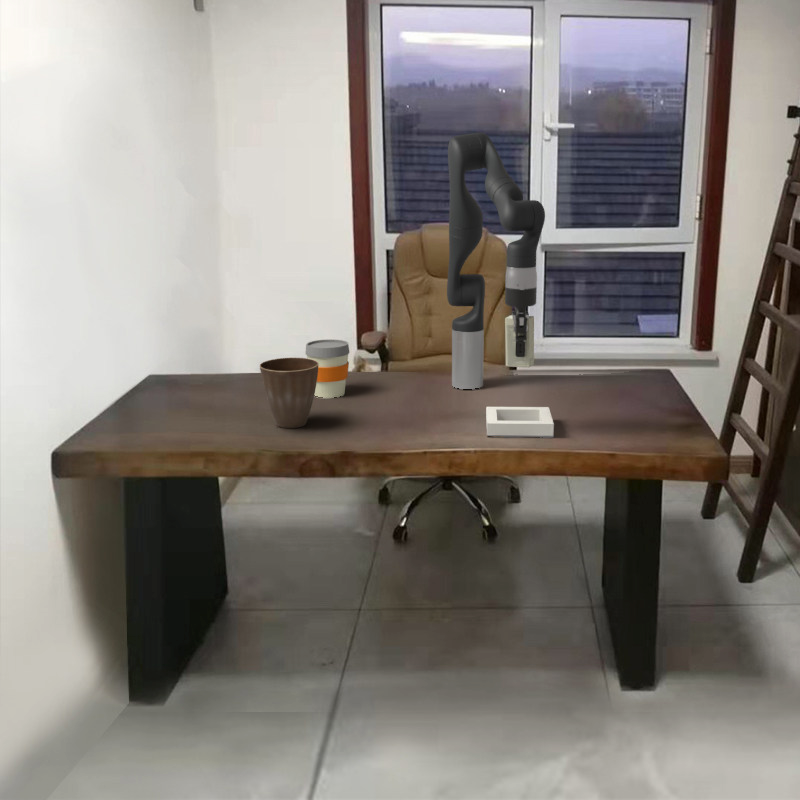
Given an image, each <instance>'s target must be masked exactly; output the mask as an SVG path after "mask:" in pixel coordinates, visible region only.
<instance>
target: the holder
mask: <svg viewBox="0 0 800 800" xmlns="http://www.w3.org/2000/svg"><path fill="white" fill-rule="evenodd" d="M485 415H486V416H485V418H486V419H485V426H486V437H487V436H504V437H503V438H521V437H540V438H539V439H543V438H544V439H546V438H547V439H548V438H549V439H550V438H551V439H554V430H555V429H554V428H555V423H554V420H553V416H552V414H551V411H550V407H549V406H486V409H485ZM542 437H543V438H542Z"/></svg>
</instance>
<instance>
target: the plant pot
mask: <svg viewBox="0 0 800 800" xmlns="http://www.w3.org/2000/svg"><path fill="white" fill-rule="evenodd" d="M318 366H319V363H318V362H317V361H316V360H312V359H307V358H305V357H281V358H274V359H269V360H266V361H263V362H260V364H259V370H260V374H261V375H260V376H261V380H262V385H263V389H264V393H265V396H266V398H267V402H268V405H269V409H270V410H271V413H272V416H273V418H274V421H275V423H276V425H277V426H278V427H280V428H286V429H295V428H297V429H298V428H301V427H303V426H305V425H306V424H307V422H308V419H309V416H310V412H311V409H312V406H313V402H314V397H315V396H314V394H315V389H316V383H317V376H318Z"/></svg>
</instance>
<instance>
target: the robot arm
mask: <svg viewBox="0 0 800 800" xmlns="http://www.w3.org/2000/svg"><path fill="white" fill-rule="evenodd" d="M447 149H448V150H447V158H448V159H447V162H448V175H449V177H448V178H449V211H448V212H449V213H448V214H449V215H448V239H449V240H448V245H449V246H448V249H449V251H448V252H449V253H448V254H449V257H448V269H447V270H448V271H447V285H446V298H447V302H448V304H449V305H450V306H453V307H472V309H471V310H470V311H468V312H467V313H465V314H464V315H461V316H458V317H455V318H453V320H452V322H451V387H452V386H453V387H452V388H454V387H455V388H454V389H457V388H459V389H458V390H463V389H472V390H476V389H475V388H479V389H481V388H480V387H482V386H483V387H484V347H485V346H484V341H485V340H484V337H485V336H484V333H485V332H484V322H485V321H484V319H485V318H484V314H485V313H484V311H485V296H486V295H485V294H486V282H485V281H486V280H485V278H484V276H483V274H480V273H478V274H477V273H472V274H471V273H469V274H468V273H467V274H465V273H464V274H463V273H462V274H461V271H462V269H463V266H464V264H465V263H466V261H467V260H468V258H469V257H470V255H471V254H472V253H473V252H474V251H475V249H476V248H477V246H479V244H480V242H481V239H482V237H483V227H484V225H483V224H484V216H483V211H482V209H481V206H480V205H479V204H478V202H477V201H476V199H475V198H474V197H473V195H472V194H471V193H470V190H469V189H468V187H467V185H466V179H465V177H466V176H465V175H466V172H471V171H478V170H481V169H482V170H483V169H487V174H486V176H485V179H484V186H485V187H484V188H485V193H486V195H487V196H488V198H489V199H490V200H491V201H492V203H493V205H494V206H496V210H497V213H498V214H497V215H498V216H499V217H498V219H499V222H500V225H501V227H503V228H504V229H505V230H506V231H509V232H523V231H524V232H523V234H522V236H521V237H520V238H519V239H516V240H515V241H511V242H510V243H508V244H507V246H506V271H505V284H504V285H505V286H504V304H505V305H506V306H509V307H514V309H513V311H511V315H512V319H513V331H514V332H515V342H516V353H515V355H516V357H524V356H525V342H526V339H527V337H526V332H527V331H528V326H527V318H529V316H530V313H529V311H526V310H527V309H526V308H527V307H533V306H536V304H537V286H538V285H537V284H538V273H537V252H538V251H537V249H538V246H539V242H540V238H541V234H542V232H543V228H544V225H545V222H546V221H545V220H546V211H545V208H544V206H543V204H542V202H540V201H538V200H535V199H532V200H531V199H530V200H524V193H523V192H522V190H521V188H520V186H519V185H517V183H516V182H515V181H514V179H513V178H512V177H511V176H510V175H509V173H508V171H507V169H506V167H505V165H504V163H503V161H502V159H501V157H500V155H499V153H498V151H497V148H496V147H495V144H494V143H493V141H492V140H491V138H490V136H489V135H488V134H486V133H485V132H474V133H466V134H465V133H464V134H460V135H456V136H453V137H451V138H450V139H449V142H448V147H447ZM518 332H523V333H524V336H518ZM483 387H482V388H483Z"/></svg>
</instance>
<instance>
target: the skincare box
mask: <svg viewBox="0 0 800 800" xmlns="http://www.w3.org/2000/svg"><path fill="white" fill-rule="evenodd" d="M504 323H505V324H504V327H505V330H504V331H505V333H504V334H505V340H504V341H505V366H506V367H510V368H511V367H513V368H515V367H516V368H527V369H528V368H530V367H532V366H533V365H534V364H535V316H534V315H529V318H527V326H528V331H527V332H526V337H527V339H526V342H525V356H524V357H516V355H515V353H516V342H515V332H514V331H513V319H512V314H511V315H508V316H506V317H505V318H504ZM518 336H524V333H523V332H518Z"/></svg>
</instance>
